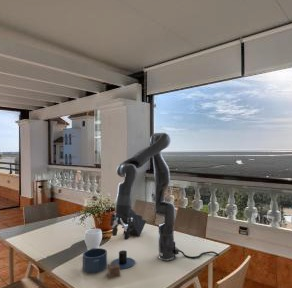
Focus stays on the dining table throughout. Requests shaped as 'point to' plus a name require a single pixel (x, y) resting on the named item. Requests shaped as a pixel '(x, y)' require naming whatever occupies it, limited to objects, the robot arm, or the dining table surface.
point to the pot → (94, 260)
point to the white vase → (93, 238)
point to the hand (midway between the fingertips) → (120, 237)
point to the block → (113, 270)
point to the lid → (124, 260)
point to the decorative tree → (136, 224)
